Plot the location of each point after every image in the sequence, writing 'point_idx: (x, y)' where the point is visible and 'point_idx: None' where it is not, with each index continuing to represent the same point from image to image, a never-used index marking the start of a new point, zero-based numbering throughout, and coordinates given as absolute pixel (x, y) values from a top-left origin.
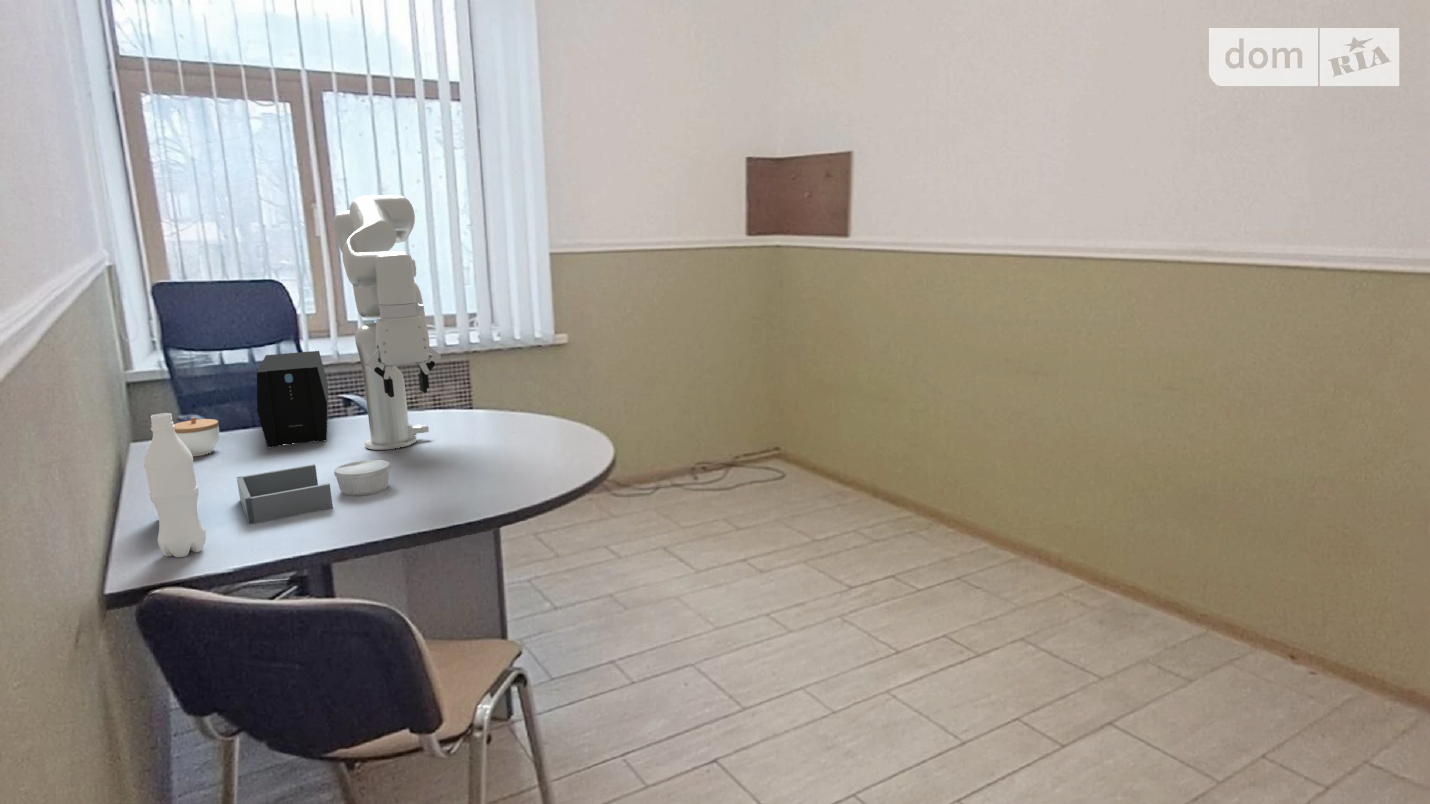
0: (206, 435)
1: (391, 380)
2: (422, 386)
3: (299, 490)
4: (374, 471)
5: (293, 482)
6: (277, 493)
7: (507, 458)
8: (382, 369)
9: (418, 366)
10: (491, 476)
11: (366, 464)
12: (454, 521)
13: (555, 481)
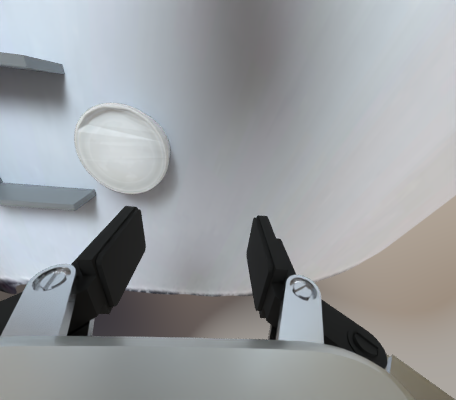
0: None
1: (111, 306)
2: (250, 262)
3: (34, 207)
4: (138, 193)
5: (7, 66)
6: (3, 204)
7: (358, 143)
8: (11, 319)
9: (278, 325)
10: (287, 206)
11: (130, 145)
12: (197, 288)
13: (317, 259)
